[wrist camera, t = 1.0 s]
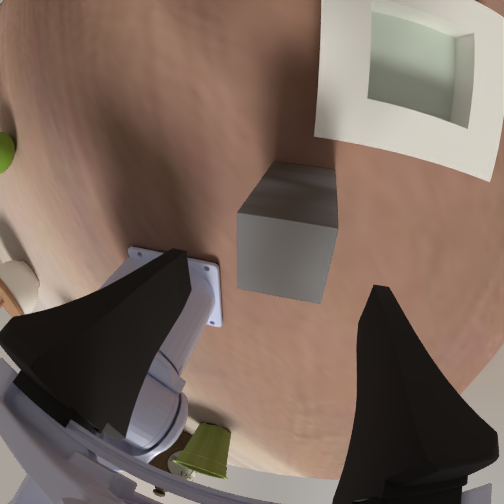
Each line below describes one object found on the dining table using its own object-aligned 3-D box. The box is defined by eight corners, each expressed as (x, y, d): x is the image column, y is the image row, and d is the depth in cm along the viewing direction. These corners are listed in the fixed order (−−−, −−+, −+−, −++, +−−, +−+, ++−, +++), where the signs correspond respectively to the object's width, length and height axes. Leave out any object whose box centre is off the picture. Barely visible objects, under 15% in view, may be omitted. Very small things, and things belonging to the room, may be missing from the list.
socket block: (316, 129, 15) (313, 136, 13) (322, -26, 9) (320, -45, 7) (469, 167, 13) (489, 182, 11) (482, 23, 7) (504, 17, 5)
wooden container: (215, 449, 66) (192, 508, 48) (177, 439, 71) (153, 492, 54) (191, 432, 59) (162, 499, 41) (151, 420, 64) (122, 479, 47)
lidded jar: (29, 291, 42) (2, 320, 34) (8, 247, 36) (-24, 275, 28) (55, 303, 39) (25, 337, 32) (30, 253, 33) (-7, 288, 26)
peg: (270, 215, 20) (237, 288, 13) (274, 161, 17) (237, 212, 11) (326, 224, 19) (320, 303, 12) (335, 170, 17) (338, 228, 10)
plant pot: (193, 427, 55) (177, 465, 46) (188, 411, 48) (168, 456, 39) (240, 442, 53) (227, 481, 44) (243, 429, 46) (227, 477, 37)
